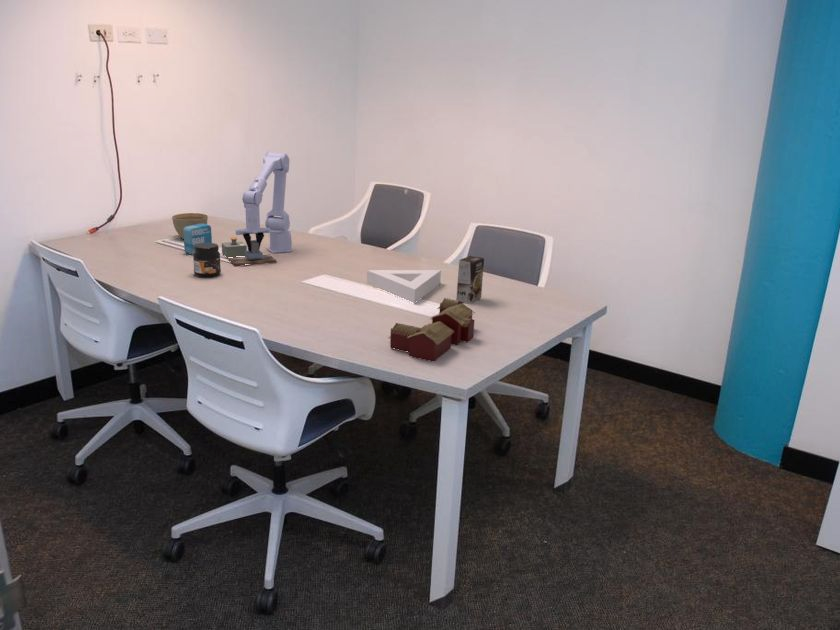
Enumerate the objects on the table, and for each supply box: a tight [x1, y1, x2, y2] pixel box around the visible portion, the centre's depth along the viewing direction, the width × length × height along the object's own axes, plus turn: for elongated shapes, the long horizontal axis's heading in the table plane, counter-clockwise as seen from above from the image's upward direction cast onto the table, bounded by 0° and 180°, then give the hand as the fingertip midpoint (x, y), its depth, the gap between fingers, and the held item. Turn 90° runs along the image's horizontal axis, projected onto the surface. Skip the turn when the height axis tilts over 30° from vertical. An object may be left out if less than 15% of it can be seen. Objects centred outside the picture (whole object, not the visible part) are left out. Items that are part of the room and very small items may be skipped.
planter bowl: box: [171, 212, 209, 240], centre depth 352 cm, size 16×16×11 cm
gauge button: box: [230, 236, 238, 245], centre depth 327 cm, size 3×3×5 cm
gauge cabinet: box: [221, 240, 248, 258], centre depth 328 cm, size 9×8×5 cm
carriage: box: [245, 239, 264, 260], centre depth 319 cm, size 6×6×7 cm
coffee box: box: [455, 255, 485, 305], centre depth 280 cm, size 9×6×16 cm
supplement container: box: [192, 242, 222, 278], centre depth 297 cm, size 10×10×12 cm
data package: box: [183, 224, 213, 256], centre depth 329 cm, size 12×4×12 cm, turn 147°
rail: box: [228, 254, 277, 267], centre depth 320 cm, size 18×10×2 cm, turn 118°
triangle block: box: [366, 269, 442, 304], centre depth 291 cm, size 30×26×6 cm
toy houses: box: [388, 297, 476, 362], centre depth 244 cm, size 45×20×10 cm, turn 155°
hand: (253, 250), depth 319 cm, fingers closed on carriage, 3 cm apart
